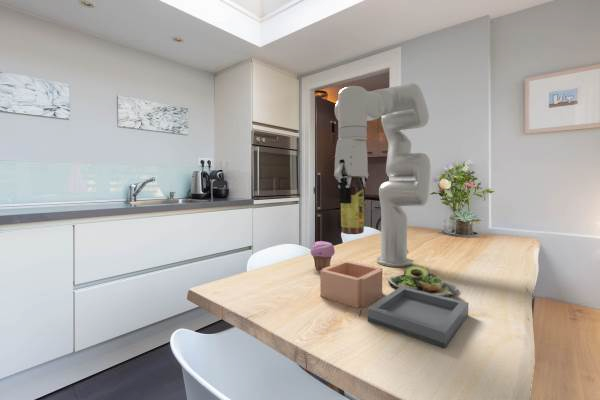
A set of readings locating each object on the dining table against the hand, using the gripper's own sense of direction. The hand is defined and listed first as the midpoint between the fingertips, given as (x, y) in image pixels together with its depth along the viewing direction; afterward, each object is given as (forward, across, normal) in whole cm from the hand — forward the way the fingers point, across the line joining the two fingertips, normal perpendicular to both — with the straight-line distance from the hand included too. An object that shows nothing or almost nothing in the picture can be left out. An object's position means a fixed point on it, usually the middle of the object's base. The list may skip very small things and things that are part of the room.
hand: (352, 201), depth 78 cm
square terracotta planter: (+26, +1, 0) cm, 26 cm away
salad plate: (+27, -18, +12) cm, 34 cm away
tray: (+26, +3, +19) cm, 32 cm away
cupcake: (+26, -13, -21) cm, 36 cm away
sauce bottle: (+9, 0, 0) cm, 9 cm away
